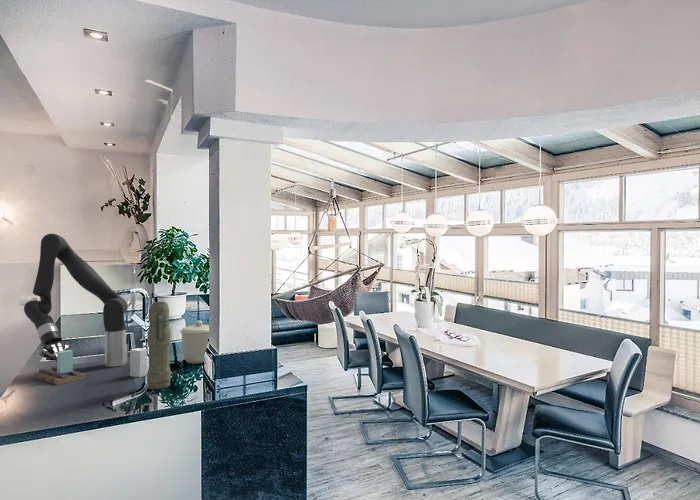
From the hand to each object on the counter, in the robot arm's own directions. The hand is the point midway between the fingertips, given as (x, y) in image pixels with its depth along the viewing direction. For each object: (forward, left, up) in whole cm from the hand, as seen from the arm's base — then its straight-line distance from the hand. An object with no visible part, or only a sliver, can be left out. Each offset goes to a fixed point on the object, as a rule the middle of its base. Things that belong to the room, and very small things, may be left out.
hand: (62, 365), depth 188 cm
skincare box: (-32, 0, -6) cm, 32 cm away
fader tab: (-2, +1, -4) cm, 4 cm away
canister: (-54, -22, -6) cm, 58 cm away
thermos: (-46, +18, -6) cm, 50 cm away
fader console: (+2, -2, -6) cm, 7 cm away
